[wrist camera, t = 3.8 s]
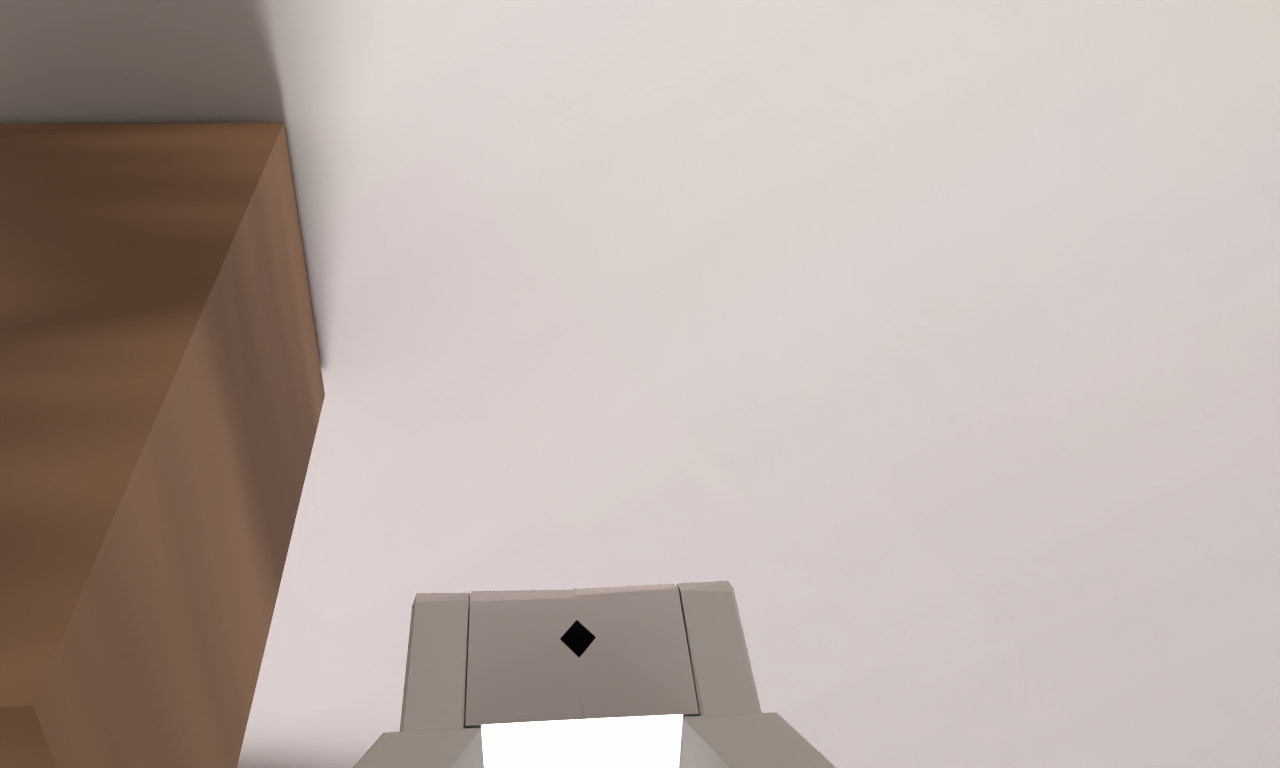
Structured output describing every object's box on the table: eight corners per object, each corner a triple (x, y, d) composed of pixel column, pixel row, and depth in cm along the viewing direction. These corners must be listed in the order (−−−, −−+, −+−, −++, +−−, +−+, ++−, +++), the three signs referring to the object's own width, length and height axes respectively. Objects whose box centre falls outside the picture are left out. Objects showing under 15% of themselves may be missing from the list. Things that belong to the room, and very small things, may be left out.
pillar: (287, 114, 16) (33, 706, 8) (327, 385, 19) (168, 1053, 10) (-56, 116, 16) (-728, 740, 7) (32, 391, 18) (-387, 1093, 10)
